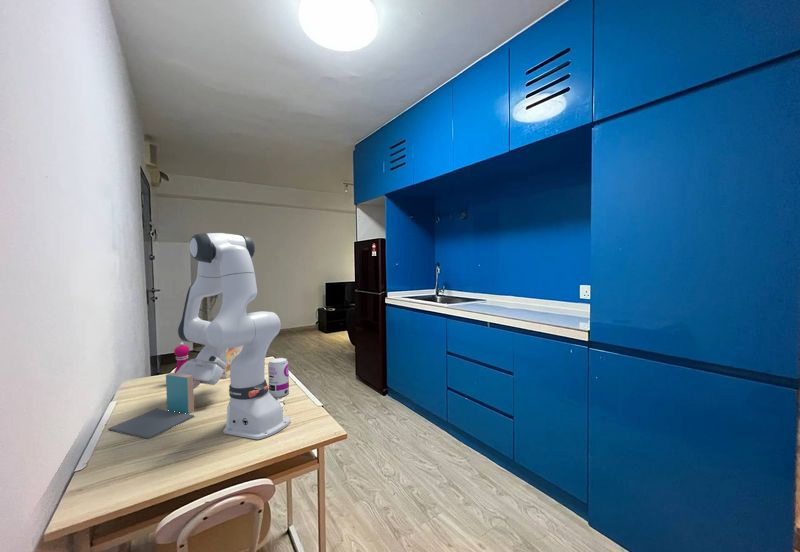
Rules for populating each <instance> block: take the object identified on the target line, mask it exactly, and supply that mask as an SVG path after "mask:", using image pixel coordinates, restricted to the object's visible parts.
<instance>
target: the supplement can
mask: <svg viewBox="0 0 800 552" xmlns="http://www.w3.org/2000/svg"><path fill="white" fill-rule="evenodd" d="M267 366H268V369H267V371H268V385H270V386H269V387H270V388H269V387H268V389H269V390H268V391H269V393H270V394H271V395H272V396H273V397H274V398H275V397H277V398H282V397H281V396H283V397H285V396H287V395H288V394H289V392H290V378H289V376H290V374H289V371H290V370H289V361H288V359H287V358H286V357H276V358H273V359H270V360H269V363H267Z"/></svg>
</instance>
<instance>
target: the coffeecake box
mask: <svg viewBox="0 0 800 552" xmlns="http://www.w3.org/2000/svg"><path fill="white" fill-rule="evenodd" d="M243 346H244V345H243ZM243 346H239V347H235V348H229V349H228V350H227V351H226V352H225V353H224V354H223V357H222V359H221V360H222V361H223V362H224V363H225V364H226V365H227V367H226V369H223V370H224V372H223V374H222V376H221V378H220V379H228V378H230V364H231V362H232V360H233V359H234V358H235V357H236V356H237V355H239V353H240V352H241V350H242V349H243Z"/></svg>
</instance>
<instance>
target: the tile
mask: <svg viewBox="0 0 800 552" xmlns="http://www.w3.org/2000/svg"><path fill="white" fill-rule="evenodd" d="M165 386H166V387H165V388H166V410H169V411H175V412H180V413H186V414H191V413H194V412H195V396H194V395H195V394H194V389H193V376H192V375H184V374H177V373H174V372H171V373H170V372H169V373H168V374H166V375H165ZM193 411H194V412H193Z"/></svg>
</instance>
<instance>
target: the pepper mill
mask: <svg viewBox="0 0 800 552" xmlns="http://www.w3.org/2000/svg"><path fill="white" fill-rule="evenodd" d="M173 353H174V355H175V360H176V366H175V370H174V371H173V373H177V371H178V370H179V369H180V368H181V366H182V365H183V364H184V363H186V362H187V361H188V359H189V353H190V348H189V346H188V345H185V344H184V341H182V342H179V345H178V346H177V347H175V348H174V351H173Z"/></svg>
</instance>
